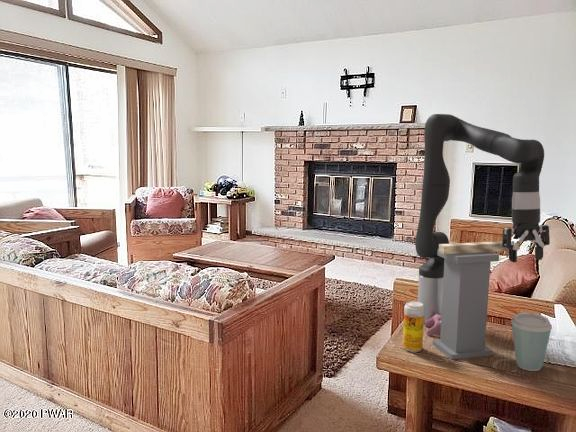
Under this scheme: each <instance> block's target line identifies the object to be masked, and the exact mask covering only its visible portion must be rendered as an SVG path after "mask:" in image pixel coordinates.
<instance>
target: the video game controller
mask: <svg viewBox="0 0 576 432" xmlns="http://www.w3.org/2000/svg"><path fill="white" fill-rule="evenodd" d="M424 327H426V328H429V329H427V331H426V335H427V336H428V337H432V336H435V335H437V334H439V333H441V315H437V314H436V315H434V316H433V317H432V318H430V319H428V320H427V321H426V322H425V323H424Z"/></svg>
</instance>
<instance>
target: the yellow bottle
mask: <svg viewBox="0 0 576 432" xmlns="http://www.w3.org/2000/svg"><path fill="white" fill-rule="evenodd" d="M403 310H404V311H403V312H404V313H403V330H402V331H403V332H402V347H403V348H404V350H406V351H407V352H409V351H410V352H409V353H419V352H421V350H422V349H423V342H424V327H425V323H424V306H423V304H422V303H420V302H418V301H415V300H413V301H411V300H409V301H406V303H405V305H404V309H403Z"/></svg>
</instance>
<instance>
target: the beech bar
mask: <svg viewBox="0 0 576 432" xmlns="http://www.w3.org/2000/svg"><path fill="white" fill-rule="evenodd" d="M516 250H517V251H519V250H520V244H519V245H518V247H517V248H516ZM479 252H492V253H495V252H496V253H498V252H509V249H508V248H505V247H503V246H502V241H501V240H499V241H478V242H477V241H475V242H456V243H449V244H439V253H442V254H460V253H479Z"/></svg>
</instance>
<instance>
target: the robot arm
mask: <svg viewBox="0 0 576 432" xmlns="http://www.w3.org/2000/svg"><path fill="white" fill-rule="evenodd" d="M423 132H424V136H423V137H424V164H423V178H422V185H421V186H422V187H421V201H420V203H421V204H420V212H419V219H418V224H417V231H416V236H415V244H414V246H415V252H416V254H417V256H418V257H419V258H421V259H428V260H427V261H425V263H423V264H421V266H419V268H418V285H417V302H420V303H422V304H423V306H424V324H425V322H426V321H427V320H428V319H430V318H432V317H433V316H434V315H436V314H437V315H442V296H443V278H444V259H445V258H443V257H440V256H438V255H437V251H438V249H439V244H450V241H449V238H448V236H447V234H446V233H445V232H443V231H434V228H435V223H436V220H437V218H438V217H439V215H440V214H441V212H442V210H443V209H444V208H445V205H446V204H447V202H448V200H449V196H450V184H451V179H450V174H449V171H448V168H447V166H446V164H445V163H446V162H445V161H444V142H449V141H454V142H463V143H466V144H470V145H471V146H473V147H474V148H476V149H478V150H480V151H482V152H485V153H488V154H492V155H494V156H498V157H500V158H502V159H504V160H506V161H509V162H510V163H515V164H518V165H519V170H518V172H516V173H514V175H513V177H512V197H511V223H512V227H503V229H502V246H503V247H505V248H508V249H509V251H508V260H509V261H510V262H511V263H517V262H518V256H517V255H518V250H516V248H517V247H518V245H519V246H520V245H521V244H522V242H528V241H529V242H532V243H533V244H534V246H535V247H534V259H535V260H536V261H537V260H538V261H542V260H543V258H544V248H545V246H549V245H550V243H551V242H550V238H551V237H550V226H549V225H548V224H547V225H546V224H540V223H541V196H540V195H541V194H540V175H541V173H542V168H543V166H544V161H545V149H544V146H543V144H542V142H540V141H539V140H537V139H522V138H521V139H520V138H516V137H512V135H510V134H508V133H505V132H501V131H497V130H495V129H491V128H490V129H489V128H485V127H481V126H478V125H474V124H473V123H472V124H471V123H469V122H467V121H465V120H463V119H461V118H459V117H457V116H455V115H452V114H448V113H434V114H431V115H430V116H428V118H427V120H426V121H425V123H424V131H423Z"/></svg>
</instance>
